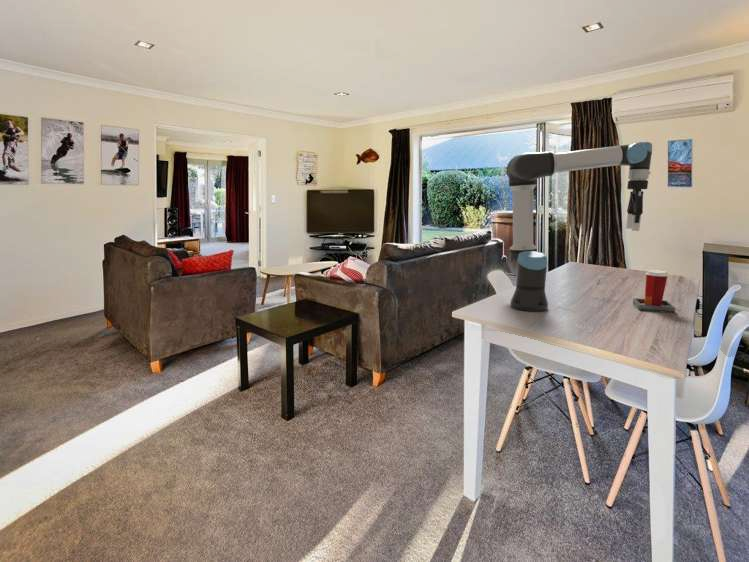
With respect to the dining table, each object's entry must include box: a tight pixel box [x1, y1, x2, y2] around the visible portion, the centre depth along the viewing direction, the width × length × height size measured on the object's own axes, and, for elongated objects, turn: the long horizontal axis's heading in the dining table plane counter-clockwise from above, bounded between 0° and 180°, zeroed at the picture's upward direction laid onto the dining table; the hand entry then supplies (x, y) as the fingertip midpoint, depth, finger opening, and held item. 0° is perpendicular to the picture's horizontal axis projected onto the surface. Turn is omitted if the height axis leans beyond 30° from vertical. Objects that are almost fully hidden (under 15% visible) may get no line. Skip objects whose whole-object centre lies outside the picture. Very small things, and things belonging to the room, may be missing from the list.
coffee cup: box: [644, 269, 669, 306], centre depth 189 cm, size 8×8×15 cm
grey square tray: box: [632, 297, 676, 314], centre depth 190 cm, size 13×13×2 cm
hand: (632, 229), depth 194 cm, fingers open, 13 cm apart
